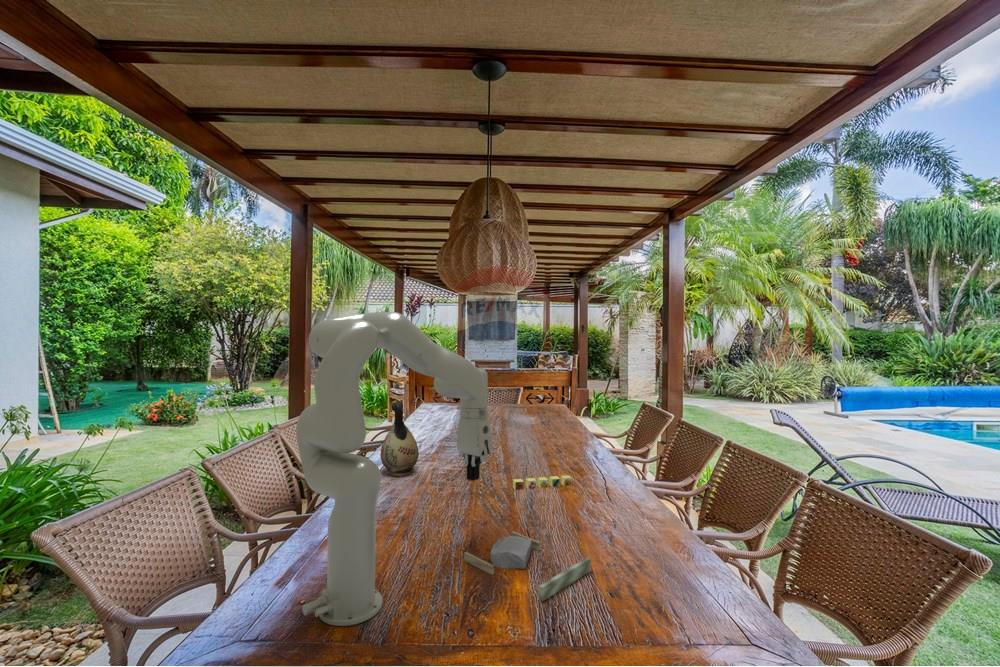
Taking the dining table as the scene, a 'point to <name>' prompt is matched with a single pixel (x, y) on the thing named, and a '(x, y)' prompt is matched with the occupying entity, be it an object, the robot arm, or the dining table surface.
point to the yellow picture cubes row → (542, 482)
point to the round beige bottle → (399, 446)
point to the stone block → (511, 552)
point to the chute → (550, 585)
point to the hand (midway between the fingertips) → (473, 479)
